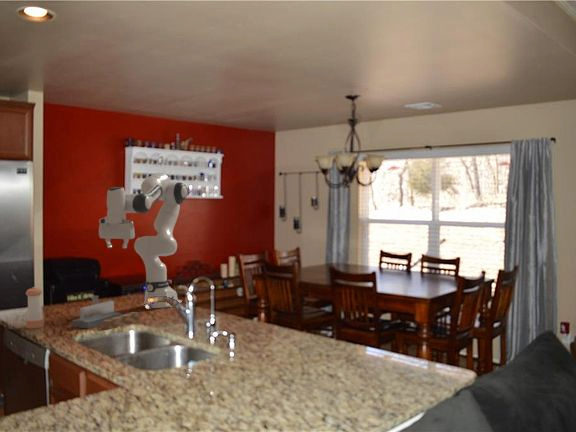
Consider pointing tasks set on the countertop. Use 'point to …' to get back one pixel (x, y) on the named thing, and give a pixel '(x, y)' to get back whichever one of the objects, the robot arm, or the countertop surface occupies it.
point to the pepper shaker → (34, 308)
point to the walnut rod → (120, 320)
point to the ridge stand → (95, 315)
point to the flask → (95, 300)
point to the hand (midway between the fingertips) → (117, 247)
